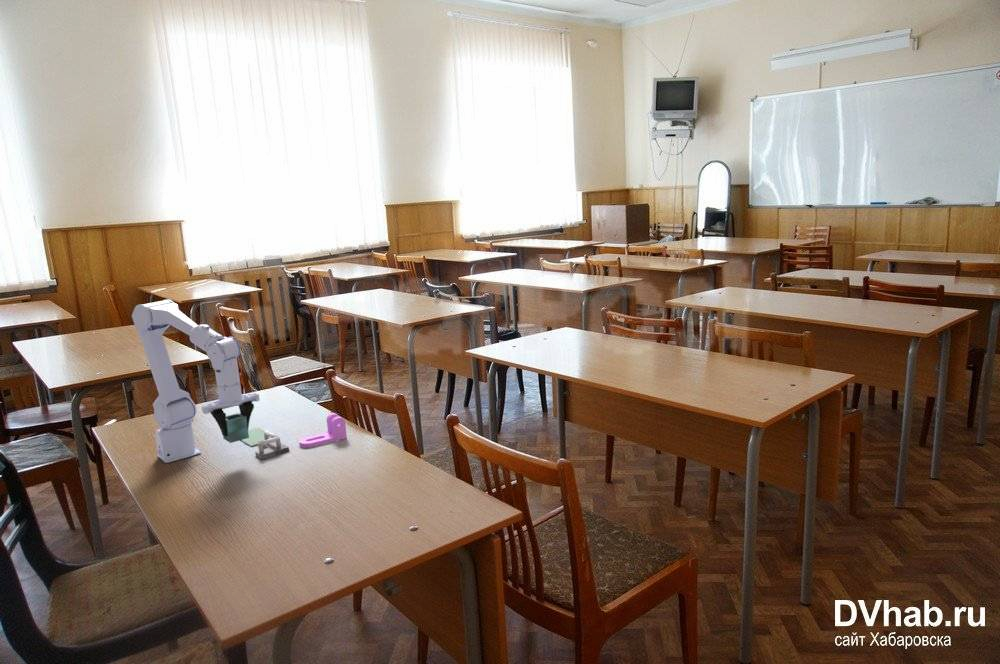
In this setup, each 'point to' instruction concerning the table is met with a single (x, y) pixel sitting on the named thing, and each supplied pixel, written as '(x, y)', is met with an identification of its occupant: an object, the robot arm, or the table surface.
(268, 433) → the bar handle
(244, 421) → the collar
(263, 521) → the table surface
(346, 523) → the table surface
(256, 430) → the end mat
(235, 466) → the table surface
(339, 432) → the bracket
